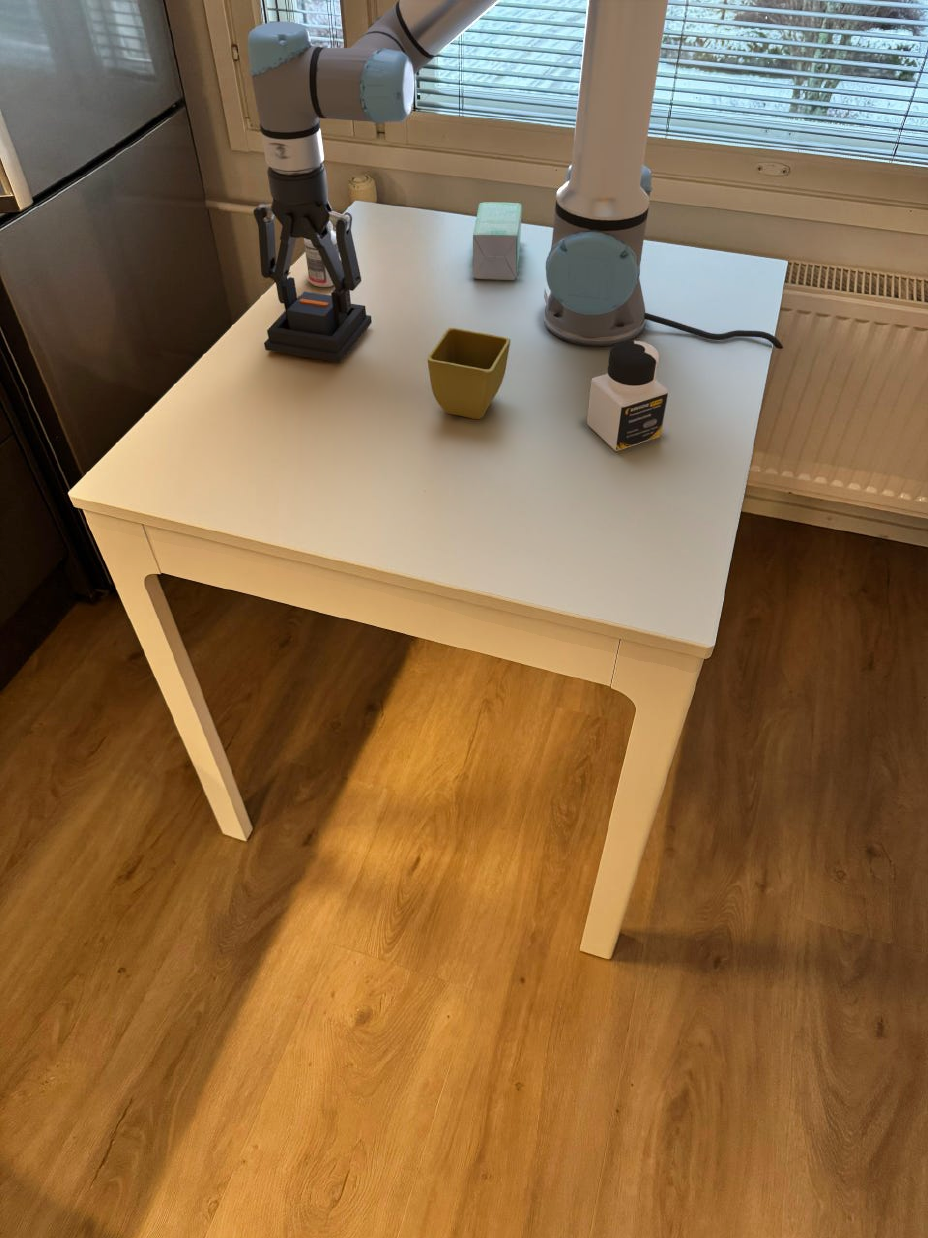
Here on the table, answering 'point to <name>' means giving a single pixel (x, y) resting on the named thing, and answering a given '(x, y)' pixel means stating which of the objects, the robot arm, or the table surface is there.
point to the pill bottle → (318, 262)
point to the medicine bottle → (628, 397)
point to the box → (497, 241)
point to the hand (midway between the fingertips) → (318, 326)
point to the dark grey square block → (312, 314)
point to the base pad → (319, 337)
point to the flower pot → (467, 371)
